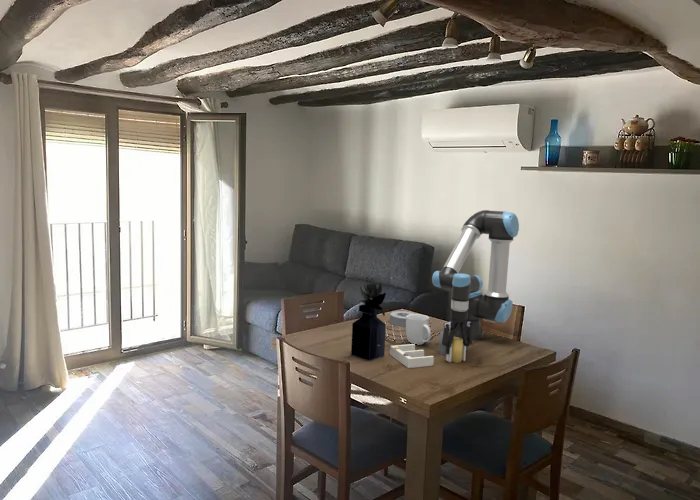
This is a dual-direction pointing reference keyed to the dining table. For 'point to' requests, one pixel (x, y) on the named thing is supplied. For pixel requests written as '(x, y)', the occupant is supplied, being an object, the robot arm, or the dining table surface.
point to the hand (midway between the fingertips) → (455, 360)
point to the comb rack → (411, 356)
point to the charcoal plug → (441, 347)
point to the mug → (417, 328)
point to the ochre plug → (456, 350)
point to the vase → (369, 325)
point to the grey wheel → (399, 318)
